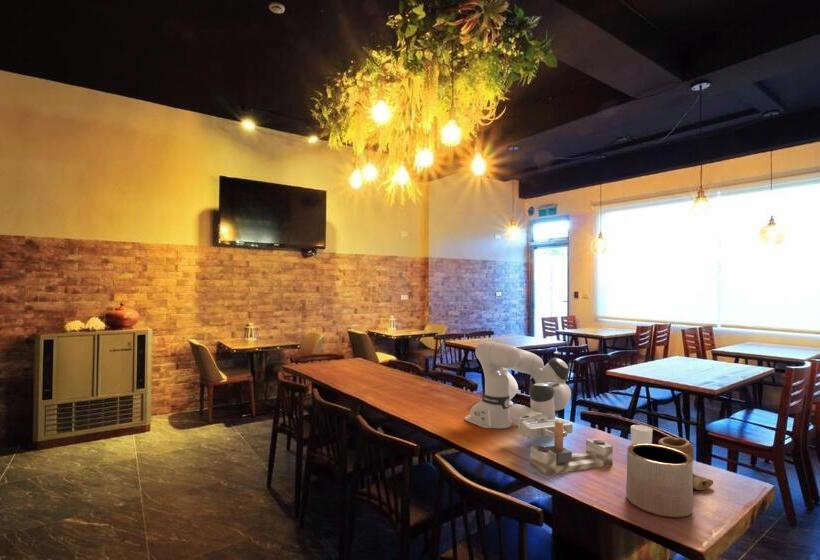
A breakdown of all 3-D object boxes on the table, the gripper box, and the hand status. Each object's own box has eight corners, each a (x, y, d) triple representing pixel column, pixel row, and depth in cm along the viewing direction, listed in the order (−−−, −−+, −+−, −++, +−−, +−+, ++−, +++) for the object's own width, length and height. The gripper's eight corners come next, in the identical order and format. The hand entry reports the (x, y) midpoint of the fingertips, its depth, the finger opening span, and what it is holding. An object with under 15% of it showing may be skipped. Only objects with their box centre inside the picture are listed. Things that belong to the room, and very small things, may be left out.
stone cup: (650, 479, 151) (650, 436, 152) (666, 471, 158) (666, 430, 159) (698, 497, 139) (699, 450, 139) (714, 488, 146) (714, 443, 146)
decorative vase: (518, 400, 254) (518, 357, 254) (517, 408, 237) (518, 362, 237) (487, 397, 259) (488, 355, 259) (484, 405, 242) (485, 360, 242)
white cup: (640, 457, 171) (641, 431, 172) (625, 449, 179) (626, 425, 179) (656, 455, 174) (657, 430, 174) (641, 448, 181) (641, 424, 181)
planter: (676, 526, 122) (677, 470, 122) (614, 500, 136) (615, 450, 136) (702, 508, 132) (703, 456, 132) (643, 486, 146) (643, 439, 147)
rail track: (545, 475, 153) (545, 454, 153) (530, 465, 161) (530, 445, 162) (612, 465, 163) (612, 445, 163) (594, 456, 172) (595, 437, 172)
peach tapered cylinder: (557, 465, 156) (558, 425, 156) (545, 458, 163) (546, 419, 163) (571, 463, 158) (572, 424, 158) (558, 456, 165) (559, 418, 165)
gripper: (558, 429, 176) (583, 440, 163) (515, 434, 169) (537, 446, 156) (559, 413, 176) (583, 423, 163) (515, 417, 169) (537, 429, 156)
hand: (560, 435), depth 160 cm, fingers closed on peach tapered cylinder, 3 cm apart
